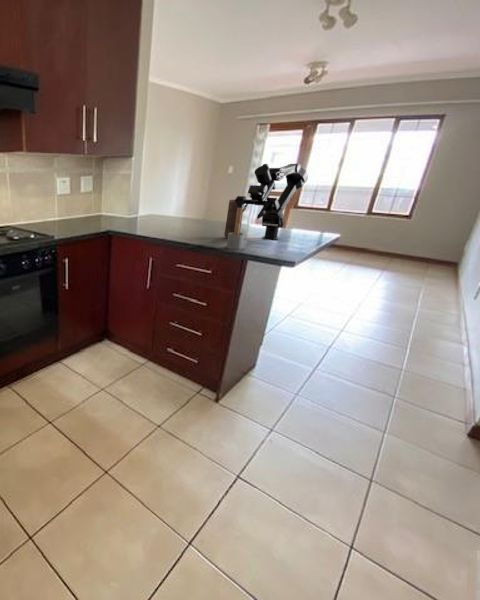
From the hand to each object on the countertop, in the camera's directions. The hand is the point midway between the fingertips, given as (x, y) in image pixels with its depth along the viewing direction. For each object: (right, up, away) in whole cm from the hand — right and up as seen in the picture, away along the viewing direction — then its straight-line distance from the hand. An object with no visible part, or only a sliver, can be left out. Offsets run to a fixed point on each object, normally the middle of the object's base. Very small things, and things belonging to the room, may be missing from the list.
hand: (247, 217), depth 154 cm
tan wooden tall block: (+3, -6, +22) cm, 23 cm away
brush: (-6, -14, +1) cm, 15 cm away
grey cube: (-6, -14, +1) cm, 16 cm away
